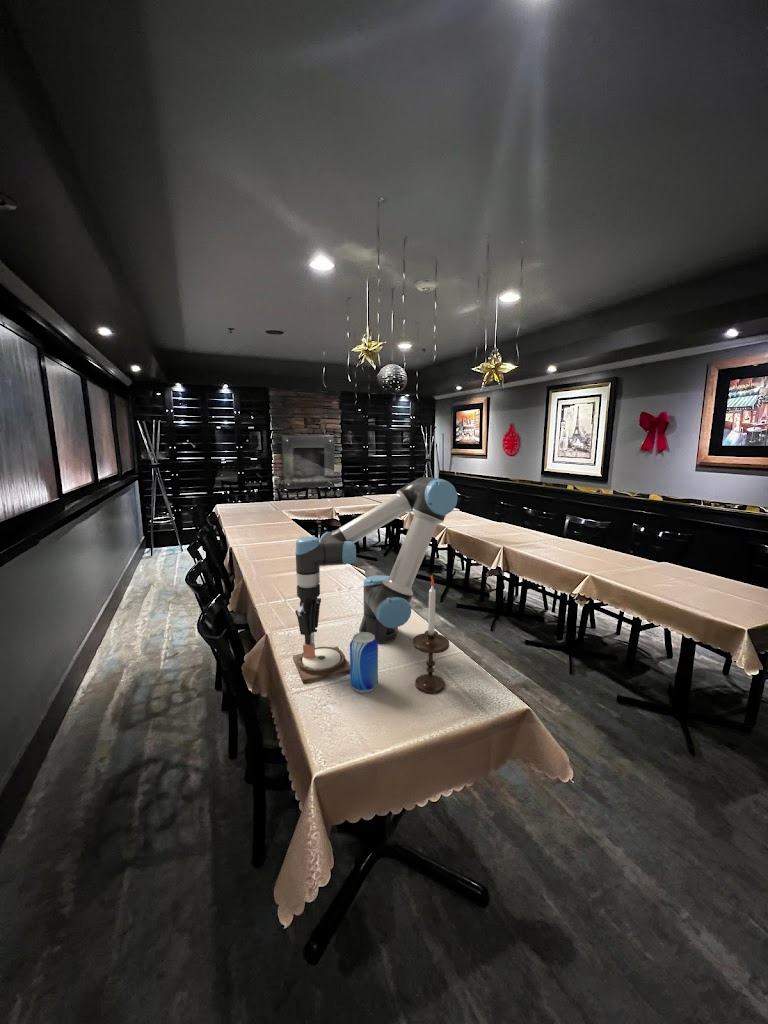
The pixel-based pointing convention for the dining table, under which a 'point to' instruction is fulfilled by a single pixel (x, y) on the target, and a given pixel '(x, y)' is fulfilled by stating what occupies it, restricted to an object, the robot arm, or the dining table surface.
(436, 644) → the candlestick
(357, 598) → the dining table surface
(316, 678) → the dial housing
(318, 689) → the dining table surface
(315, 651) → the dial
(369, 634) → the beer can
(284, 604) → the dining table surface
